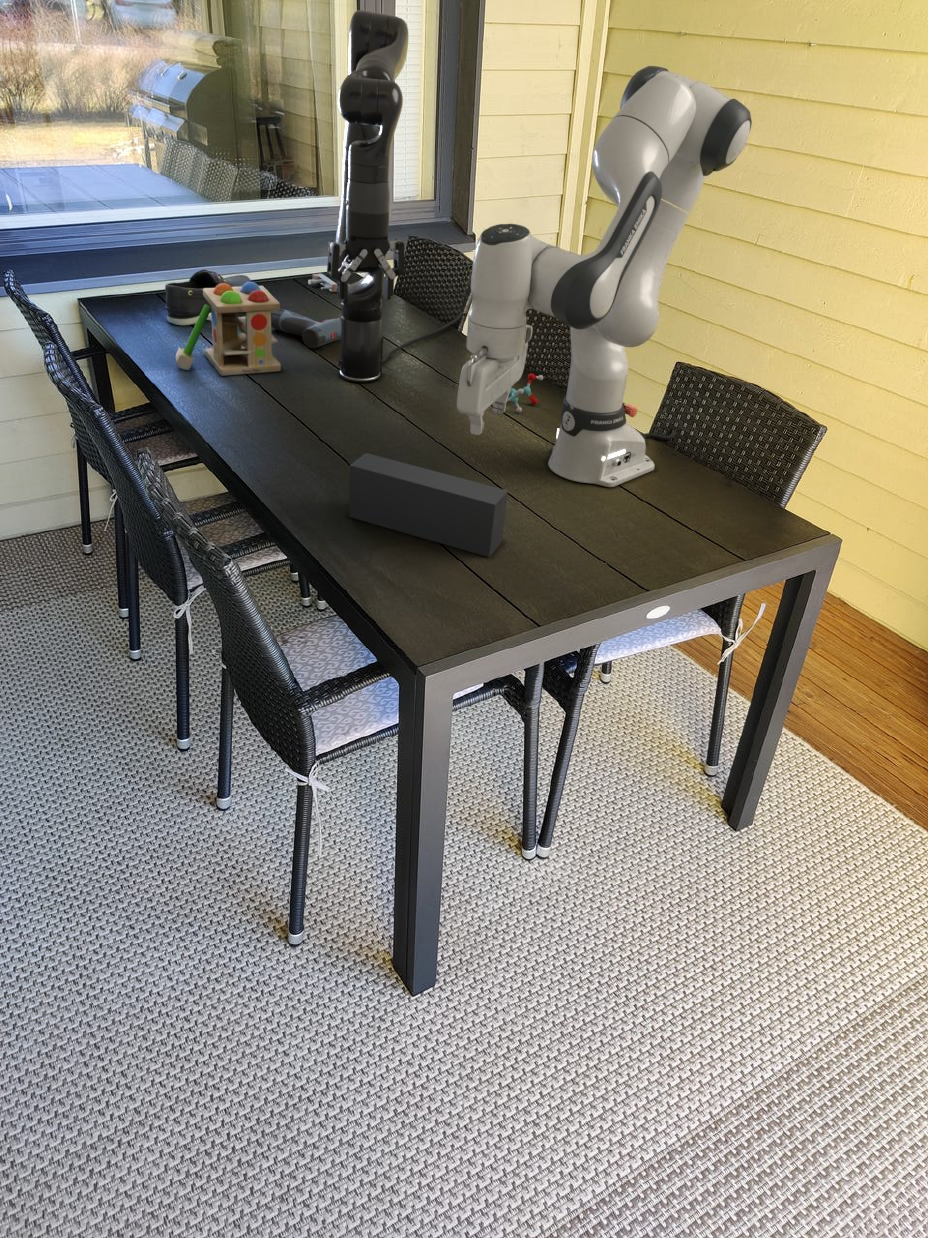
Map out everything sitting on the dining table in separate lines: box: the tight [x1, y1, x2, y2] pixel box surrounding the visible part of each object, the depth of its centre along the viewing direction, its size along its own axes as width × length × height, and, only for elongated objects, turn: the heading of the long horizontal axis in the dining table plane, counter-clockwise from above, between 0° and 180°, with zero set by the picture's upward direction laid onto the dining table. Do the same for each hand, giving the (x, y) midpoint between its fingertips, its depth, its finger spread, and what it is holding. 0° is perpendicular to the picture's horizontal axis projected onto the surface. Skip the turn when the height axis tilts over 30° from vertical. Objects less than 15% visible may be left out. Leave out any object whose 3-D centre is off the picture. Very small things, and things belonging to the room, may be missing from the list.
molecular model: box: [506, 373, 544, 413], centre depth 223 cm, size 12×10×10 cm
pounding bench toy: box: [174, 281, 282, 377], centre depth 225 cm, size 23×14×18 cm, turn 116°
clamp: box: [307, 273, 350, 293], centre depth 287 cm, size 15×2×10 cm
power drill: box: [271, 308, 341, 349], centre depth 252 cm, size 5×19×20 cm
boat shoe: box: [164, 269, 253, 326], centre depth 260 cm, size 13×33×10 cm, turn 147°
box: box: [348, 452, 509, 558], centre depth 170 cm, size 27×6×10 cm, turn 67°
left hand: (365, 299), depth 181 cm, fingers open, 8 cm apart
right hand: (487, 422), depth 158 cm, fingers open, 8 cm apart
